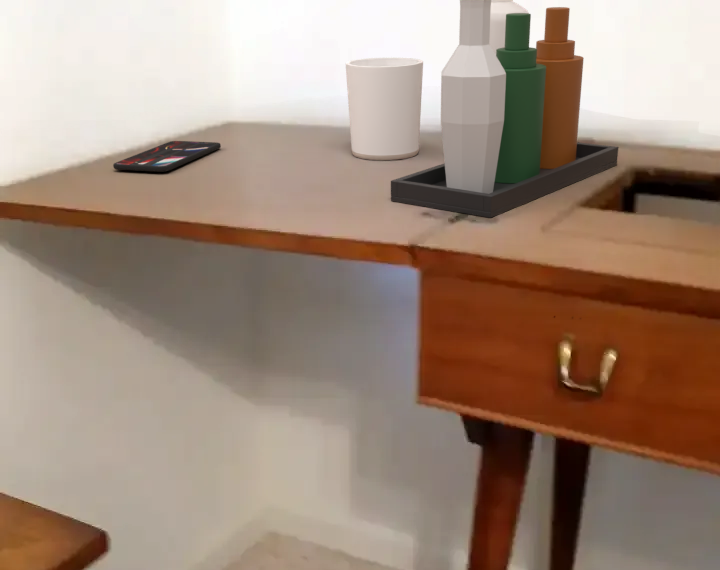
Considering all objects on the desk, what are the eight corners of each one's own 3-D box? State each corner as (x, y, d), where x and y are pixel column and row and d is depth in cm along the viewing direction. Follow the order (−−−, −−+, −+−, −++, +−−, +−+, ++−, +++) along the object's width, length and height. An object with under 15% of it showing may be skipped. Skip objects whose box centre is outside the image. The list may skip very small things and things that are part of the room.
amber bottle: (584, 161, 108) (597, 6, 101) (558, 171, 104) (570, 11, 97) (537, 155, 112) (546, 5, 104) (510, 165, 108) (517, 9, 100)
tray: (616, 165, 109) (618, 146, 108) (490, 218, 90) (491, 196, 89) (525, 153, 115) (526, 136, 114) (390, 200, 97) (390, 180, 96)
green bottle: (549, 175, 103) (560, 12, 95) (520, 186, 99) (529, 17, 91) (500, 168, 106) (507, 10, 99) (470, 179, 102) (475, 15, 95)
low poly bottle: (509, 187, 98) (521, -57, 88) (491, 202, 93) (501, -55, 83) (449, 183, 101) (454, -55, 90) (428, 197, 95) (431, -54, 85)
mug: (436, 155, 115) (438, 62, 111) (371, 164, 112) (369, 69, 107) (389, 140, 124) (388, 54, 119) (327, 148, 120) (324, 60, 115)
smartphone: (222, 142, 122) (165, 167, 109) (223, 147, 122) (166, 173, 109) (171, 140, 124) (109, 164, 111) (172, 145, 124) (110, 170, 111)
